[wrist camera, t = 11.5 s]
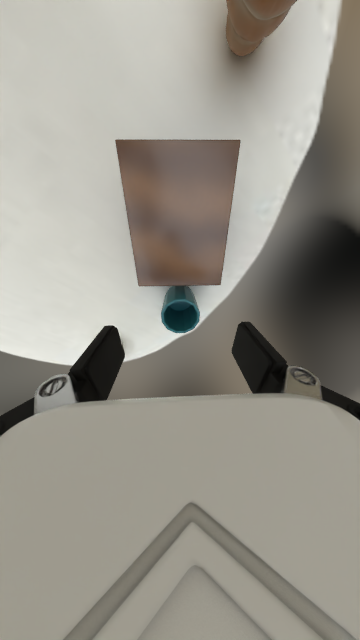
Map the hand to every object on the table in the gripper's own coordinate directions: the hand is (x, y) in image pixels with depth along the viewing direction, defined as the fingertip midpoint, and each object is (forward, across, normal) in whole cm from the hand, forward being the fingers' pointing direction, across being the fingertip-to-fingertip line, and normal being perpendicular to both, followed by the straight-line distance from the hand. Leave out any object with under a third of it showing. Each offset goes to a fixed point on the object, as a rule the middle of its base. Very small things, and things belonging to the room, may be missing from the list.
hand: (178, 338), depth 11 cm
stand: (+18, -1, -8) cm, 20 cm away
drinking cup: (+14, -1, +1) cm, 14 cm away
